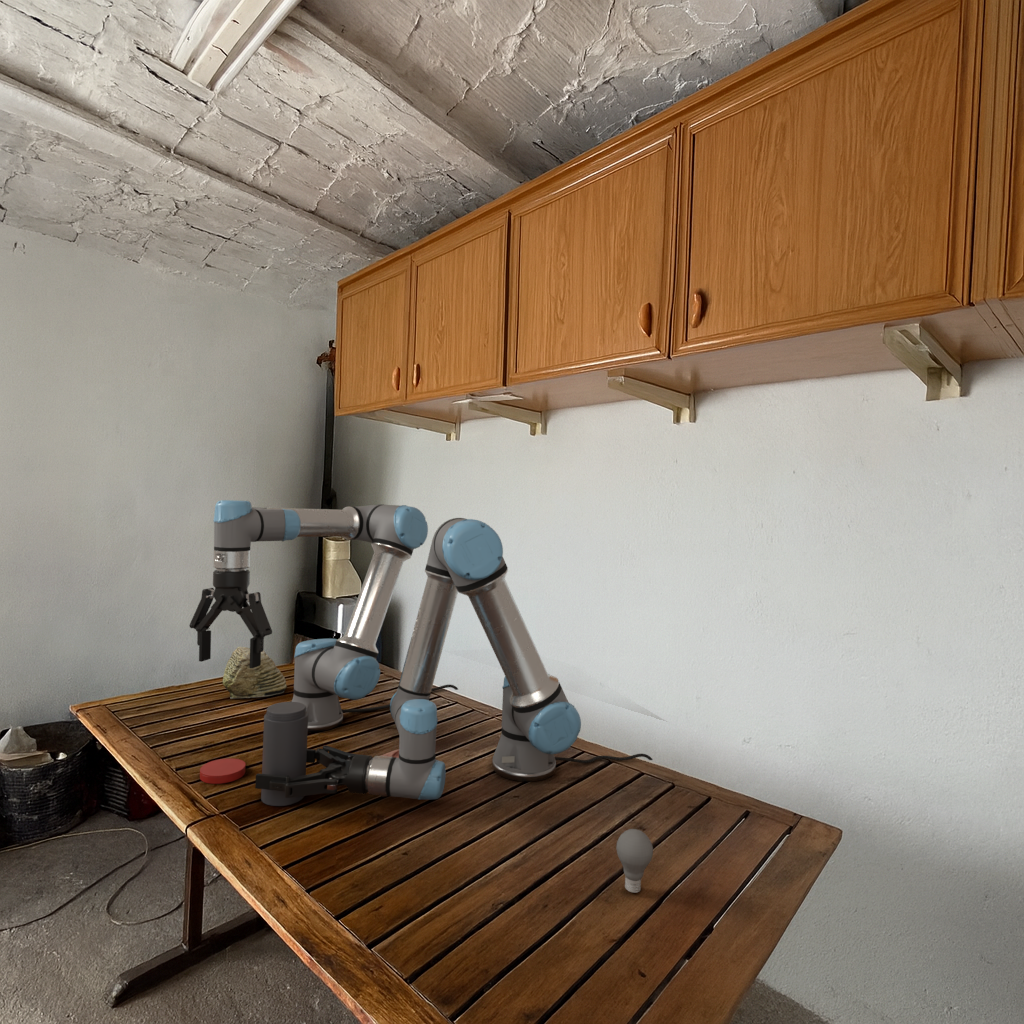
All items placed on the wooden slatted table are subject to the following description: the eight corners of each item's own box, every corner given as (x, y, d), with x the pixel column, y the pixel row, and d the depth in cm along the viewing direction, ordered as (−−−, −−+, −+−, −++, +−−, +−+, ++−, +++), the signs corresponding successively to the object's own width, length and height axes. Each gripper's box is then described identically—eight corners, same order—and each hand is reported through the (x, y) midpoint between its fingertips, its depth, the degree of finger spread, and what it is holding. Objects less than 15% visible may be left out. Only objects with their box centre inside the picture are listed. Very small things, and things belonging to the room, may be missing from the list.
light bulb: (610, 879, 108) (613, 822, 108) (644, 879, 109) (647, 822, 109) (619, 902, 102) (622, 840, 102) (655, 901, 103) (658, 840, 103)
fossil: (218, 695, 195) (220, 647, 195) (278, 685, 208) (279, 640, 207) (228, 703, 189) (230, 653, 188) (289, 692, 201) (290, 645, 201)
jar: (306, 785, 139) (309, 700, 138) (303, 804, 130) (307, 713, 130) (263, 788, 136) (267, 701, 136) (258, 807, 128) (261, 715, 128)
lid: (224, 762, 148) (224, 755, 148) (254, 771, 145) (254, 763, 145) (190, 778, 140) (190, 770, 140) (221, 787, 136) (221, 779, 136)
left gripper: (173, 567, 141) (171, 661, 142) (268, 575, 134) (265, 674, 135) (198, 563, 149) (196, 653, 149) (290, 571, 142) (287, 665, 142)
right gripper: (349, 822, 119) (241, 813, 121) (386, 767, 144) (296, 760, 146) (350, 783, 119) (242, 774, 121) (387, 735, 144) (297, 728, 146)
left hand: (229, 663), depth 142 cm, fingers open, 13 cm apart
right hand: (271, 766), depth 134 cm, fingers open, 13 cm apart
